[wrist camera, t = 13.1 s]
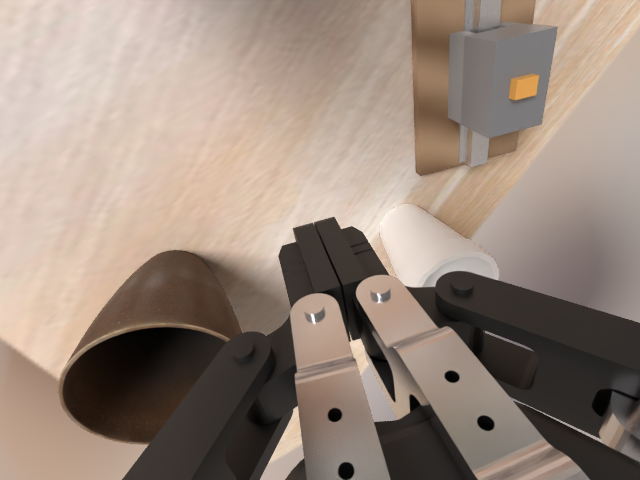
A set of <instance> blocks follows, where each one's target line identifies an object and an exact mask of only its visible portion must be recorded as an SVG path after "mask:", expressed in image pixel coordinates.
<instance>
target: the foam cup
mask: <svg viewBox="0 0 640 480" xmlns="http://www.w3.org/2000/svg"><path fill="white" fill-rule="evenodd" d="M379 235H380V237H381V240H382V242H383V245H384V247H385V249H386V252H387V254H388V256H389V259H390V261H391V264H392V266H393V268H394V271H395V273H396V275H397V278H398V280H400V281H401V282H402V283H403V285H404V286H408V287H435V285H436V282H437V280H438V279H439V278H440V277H441V276H442V275H444V274H446V273H448V272H452V271H467V272H471V273H475V274H478V275H482V276H485V277H488V278H492V279H495V280H498V279H499V275H500V273H499V270H498V267H497V264H496V261H495V259H494V258H493V257H492V256H490V255H489V254H488V253H487V252H486V251H485V250H484V249H483V248H482V247H481V246H479V245H478V244H476V243H474V242H473V241H471V240H470V239H466V238H464V237H463V236H461V235H460V234H458V233H457V232H455V231H454V230H452V229H451V228H450V227H448V226H447V225H445V224H444V223H442V222H441V221H439V220H438V219H436V218H435V217H433V216H432V215H430V214H429V213H428V212H426V211H425V210H423V209H421V208H420V207H418V206H417V205H415V204H402V205H399V206H397V207H394V208H393V209H391V210H390V211H389V212H388V213H387V214H386V215H385V216H384V218H383V220H382V222H381V224H380V231H379Z"/></svg>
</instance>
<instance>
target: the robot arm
mask: <svg viewBox="0 0 640 480" xmlns="http://www.w3.org/2000/svg"><path fill="white" fill-rule="evenodd" d="M293 231H294V235H295V239H296V242H294V243H291V244H287V245H284V246H282V248H281V251H280V253H279V260H280V264H281V268H282V272H283V276H284V280H285V284H286V289H287V293H288V297H289V301H290V305H291V312H290V315H289V317H288V319H287V321H286V322H285V323H284V324H283V325H282V326H281V327H280V328H279V329H277V330H276V331H274V332H272V333H271V334H269V335H267V336H265V335H263V334H262V333H259V332H245V333H241V334H239V335H237V336H235V337H233V338H232V339H230V340H229V341H228V342H227V343H226V344H225V345H224V346H223V347H222V349H221V350H220V351H219V353H218V354H217V355H216V357H215V358H214V359H213V360H212V362H211V363H210V364H209V366H208V367H207V368H206V370H205V371H204V372H203V374H202V375H201V376H200V378H199V379H198V380H197V382H196V383H195V384H194V386H193V387H192V388H191V390H190V391H189V392H188V394H187V395H186V396H185V397H184V399H183V400H182V401H181V403H180V404H179V405H178V407H177V408H176V409H175V411H174V412H173V413H172V415H171V416H170V417H169V419H168V420H167V421H166V423H165V424H164V425H163V427H162V428H161V429H160V430H159V432H158V433H157V434H156V436H155V437H154V438H153V440H152V441H151V442H150V444H149V445H148V446H147V448H146V449H145V451H144V452H143V453H142V454H141V456H140V457H139V458H138V460H137V461H136V462H135V464H134V465H133V466H132V468H131V469H130V470H129V472H128V473H127V474H126V475H125V477H124V478H123V479H122V480H260V478H261V476H262V474H263V472H264V470H265V468H266V466H267V464H268V462H269V460H270V458H271V456H272V454H273V452H274V450H275V448H276V446H277V445H278V443H279V441H280V439H281V437H282V435H283V433H284V431H285V429H286V427H287V425H288V423H289V421H290V419H291V417H292V414H293V409H294V408H295V407H297V406H298V410H299V418H300V427H301V435H302V443H303V451H304V459H303V460H302V461H300V462H299V463H298V464H297V466H296V467H295V468H294V469H293V470H292V471H291V473H290V474H289V475H288V477H287V478H286V479H285V480H640V323H638V322H635V321H632V320H628V319H625V318H621V317H618V316H615V315H612V314H608V313H605V312H602V311H598V310H595V309H591V308H588V307H585V306H581V305H578V304H575V303H572V302H568V301H565V300H562V299H558V298H555V297H552V296H548V295H545V294H541V293H538V292H535V291H532V290H528V289H525V288H522V287H518V286H515V285H512V284H508V283H504V282H502V281H498V280H495V279H492V278H488V277H485V276H482V275H478V274H475V273H471V272H467V271H452V272H448V273H446V274H444V275H442V276H441V277H440V278H439V279H438V280H437V282H436V285H435V287H408V286H404V285H403V283H402V282H401V281H400V280H398V279H397V278H395V277H392V276H390V275H389V274H388V272H387V271H386V269H385V267H384V266H383V264H382V263H381V261H380V259H379V258H378V256H377V255H376V253H375V251H374V250H373V249H372V247H371V245H370V243H368V240H367V239H366V237H365V235H364V234H363V232H361V231H359V230H358V229H356V228H354V227H352V226H351V227H348V228H344V229H341V228H340V226H339V225H338V223H337V221H336V219H335V217H332V218H328V219H324V220H321V221H317V222H314V224H313V223H310V224H306V225H303V226H299V227H295V228H293ZM485 331H488V332H491V333H493V334H496V335H499V336H501V337H504V338H506V339H509V340H512V341H514V342H517V343H520V344H522V345H525V346H527V347H529V348H531V349H532V350H533V351H534V352H533V351H530V350H527V349H525V348H522V347H520V346H517V345H515V344H512V343H509V342H507V341H504V340H502V339H499V338H496V337H494V336H491V335H489V334H486V333H485ZM349 332H350V334H349ZM350 335H351V337H352V340H356V339H360V338H361V340H362V342H363V345H364V347H365V354H366V359H367V361H368V363H369V365H370V367H371V368H372V371H373V372H374V374H375V376H376V378H377V380H378V382H379V384H380V386H381V388H382V390H383V391H384V393H385V395H386V397H387V399H388V401H389V403H390V405H391V407H392V409H393V411H394V413H395V416H396V419H397V420H396V421H384V422H374V421H373V417H372V414H371V410H370V407H369V403H368V400H367V397H366V393H365V390H364V386H363V383H362V379H361V376H360V372H359V369H358V366H357V362H356V360H355V358H354V357H353V354H352V350H351V347H350V343H349V342H350V341H351V340H350ZM510 397H511V398H514V399H516V400H518V401H520V402H522V403H524V404H526V405H529V406H531V407H533V408H535V409H537V410H539V411H542V412H544V413H546V414H548V415H550V416H552V417H555V418H557V419H559V420H561V421H563V422H565V423H568V424H570V425H572V426H574V427H576V428H578V429H581V430H583V431H585V432H587V433H589V434H591V435H593V436H596V437H598V438H600V439H601V440H602V442H603V443H601V442H599V441H597V440H595V439H593V438H591V437H589V436H586V435H585V434H582V433H581V432H578V431H577V430H574V429H573V428H570V427H568V426H566V425H564V424H562V423H560V422H558V421H556V420H554V419H552V418H550V417H548V416H546V415H544V414H542V413H540V412H538V411H536V410H534V409H532V408H530V407H528V406H526V405H523V404H520V403H518V402H515V401H512V399H511V398H510Z"/></svg>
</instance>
